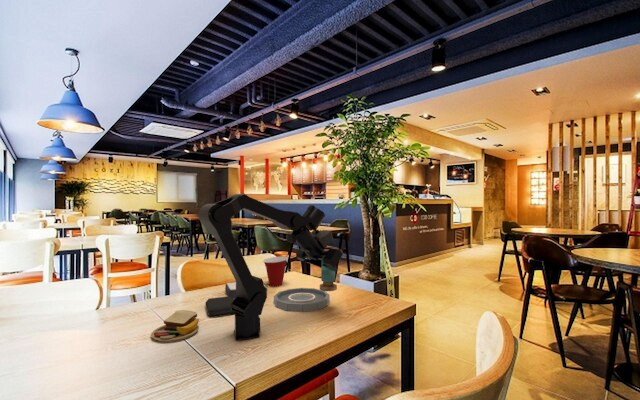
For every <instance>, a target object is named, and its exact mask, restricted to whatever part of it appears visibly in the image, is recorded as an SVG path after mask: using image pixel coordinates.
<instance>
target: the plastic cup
mask: <svg viewBox="0 0 640 400" xmlns="http://www.w3.org/2000/svg"><path fill="white" fill-rule="evenodd" d="M287 260H288V257H287V256H273V257H268V258H264V259H263V260H262V262H263V263H264V266H265V269H266V275H267V279H268V285H269V286H270V287H281V286H283V282H284V277H285V269H286V264H287Z"/></svg>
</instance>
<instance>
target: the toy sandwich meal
mask: <svg viewBox="0 0 640 400" xmlns="http://www.w3.org/2000/svg"><path fill="white" fill-rule="evenodd" d="M197 317H198V313H197V312H196V311H193V310H186V309H180V310H175V311H174V313H172V314H171V315H170V316H168V317H167V318H165V319H164V320H163V324H164V325H161V326H159V327H157V328H155V329H154V330H152V332H151V334H150V336H151V339H153V340H155V341H156V340H158V341H157V342H159V341H162V342H161V343H171V342H172V343H174V341H175V342H180V341H183V340H186V339H189V338H191V337H192V336H194V335H195V334H196V333H197V332H198V331H199V329H200V326H199V321H200V318H197Z"/></svg>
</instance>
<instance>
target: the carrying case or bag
mask: <svg viewBox="0 0 640 400" xmlns="http://www.w3.org/2000/svg"><path fill="white" fill-rule="evenodd" d="M233 300H234V299H232V298H231V297H229V296H227V295H226V296H218V297H212V298H208V299H207V300H206V301H205V302H204V303H205V309H206V311H207V314H208V316H209V317H210V318H217V317H224V316H230V315H235V312H234V311H232V310H231V307H230V304H231V303H232V301H233Z"/></svg>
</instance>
